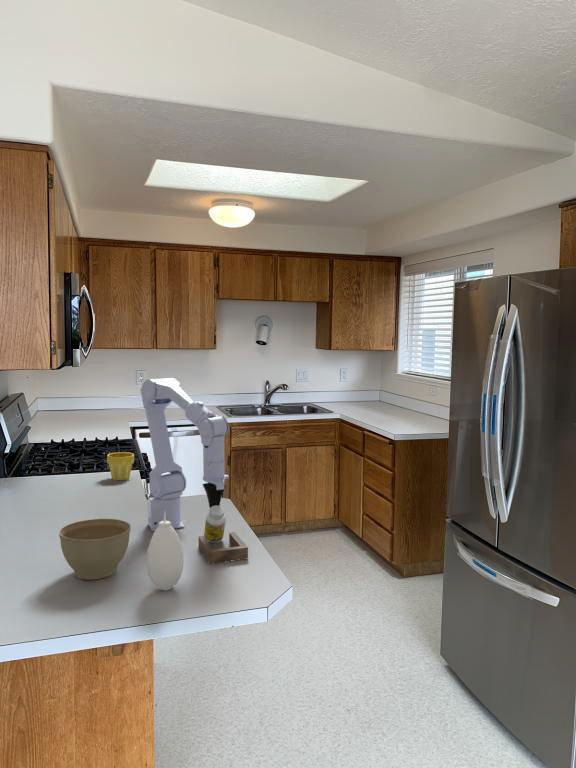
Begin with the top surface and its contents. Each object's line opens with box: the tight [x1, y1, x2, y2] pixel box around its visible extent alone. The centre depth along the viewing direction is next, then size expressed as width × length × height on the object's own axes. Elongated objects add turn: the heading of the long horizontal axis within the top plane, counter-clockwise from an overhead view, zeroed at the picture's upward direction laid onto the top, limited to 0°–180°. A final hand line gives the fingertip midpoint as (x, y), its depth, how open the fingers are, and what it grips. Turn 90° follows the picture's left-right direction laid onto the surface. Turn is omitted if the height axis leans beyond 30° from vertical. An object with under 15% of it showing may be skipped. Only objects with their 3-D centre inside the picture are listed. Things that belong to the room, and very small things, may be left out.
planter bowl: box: [58, 518, 131, 580], centre depth 139 cm, size 16×16×11 cm
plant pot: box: [106, 451, 135, 481], centre depth 230 cm, size 10×10×10 cm
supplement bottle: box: [203, 505, 227, 544], centre depth 159 cm, size 5×5×10 cm
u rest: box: [198, 531, 249, 565], centre depth 152 cm, size 10×12×3 cm
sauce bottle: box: [146, 511, 184, 592], centre depth 130 cm, size 8×8×18 cm
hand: (214, 509), depth 160 cm, fingers closed
